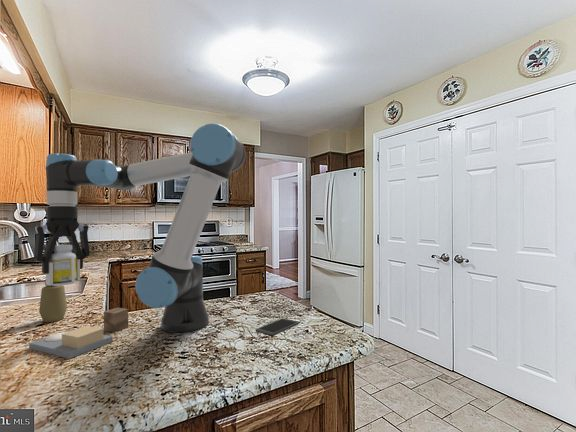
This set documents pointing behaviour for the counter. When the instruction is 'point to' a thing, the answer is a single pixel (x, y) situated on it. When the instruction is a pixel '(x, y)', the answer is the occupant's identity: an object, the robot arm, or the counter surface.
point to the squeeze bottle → (52, 303)
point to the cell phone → (277, 327)
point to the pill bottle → (63, 265)
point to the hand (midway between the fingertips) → (63, 282)
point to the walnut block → (115, 319)
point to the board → (65, 349)
